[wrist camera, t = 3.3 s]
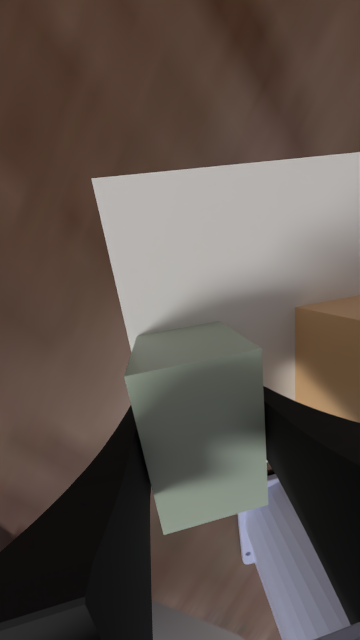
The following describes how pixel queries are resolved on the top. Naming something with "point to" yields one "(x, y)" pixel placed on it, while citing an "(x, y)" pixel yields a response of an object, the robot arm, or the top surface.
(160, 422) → the sage brick
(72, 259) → the top surface
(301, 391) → the tan brick
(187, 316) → the baseplate
